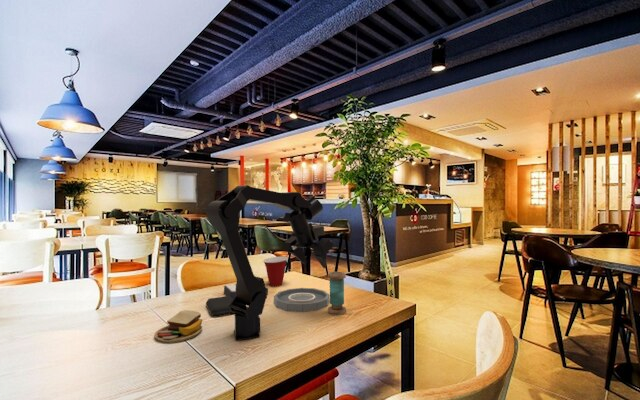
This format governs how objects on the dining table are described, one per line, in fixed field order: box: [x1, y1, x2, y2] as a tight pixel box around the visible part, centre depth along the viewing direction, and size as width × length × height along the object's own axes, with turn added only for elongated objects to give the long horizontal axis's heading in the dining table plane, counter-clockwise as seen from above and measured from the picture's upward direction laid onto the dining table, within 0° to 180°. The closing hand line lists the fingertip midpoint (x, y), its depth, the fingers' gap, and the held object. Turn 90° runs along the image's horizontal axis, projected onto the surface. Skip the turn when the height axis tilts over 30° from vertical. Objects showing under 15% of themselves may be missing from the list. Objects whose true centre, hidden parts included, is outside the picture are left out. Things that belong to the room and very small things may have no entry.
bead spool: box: [327, 271, 347, 316], centre depth 109 cm, size 6×6×13 cm
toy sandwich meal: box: [154, 309, 203, 343], centre depth 93 cm, size 12×14×5 cm
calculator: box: [223, 283, 269, 299], centre depth 130 cm, size 11×4×15 cm
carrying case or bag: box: [205, 295, 235, 318], centre depth 113 cm, size 11×3×15 cm
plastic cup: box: [262, 256, 288, 287], centre depth 144 cm, size 11×11×12 cm
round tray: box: [273, 287, 330, 313], centre depth 120 cm, size 20×20×2 cm
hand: (315, 265), depth 113 cm, fingers open, 9 cm apart
